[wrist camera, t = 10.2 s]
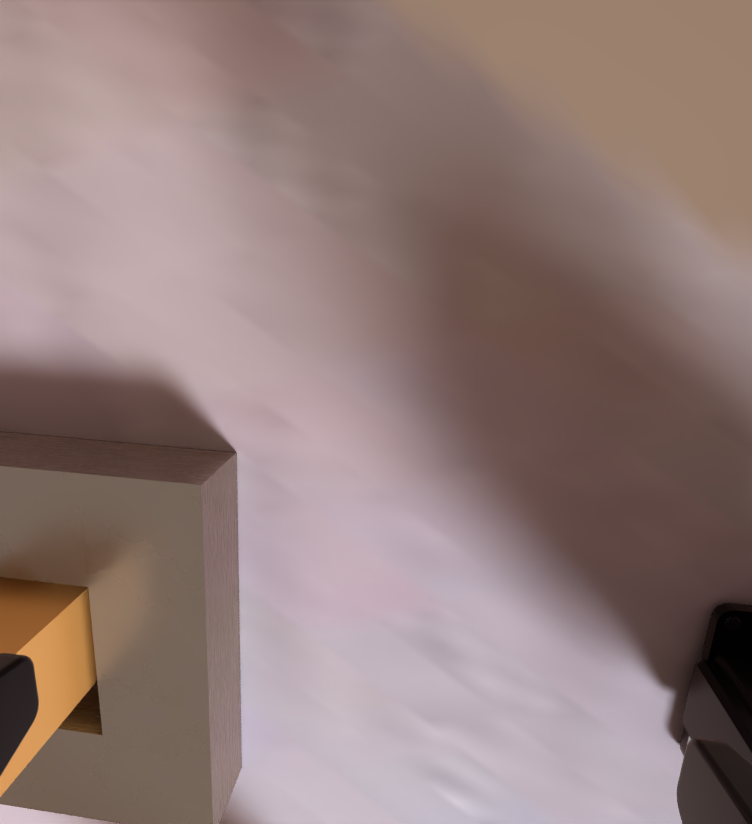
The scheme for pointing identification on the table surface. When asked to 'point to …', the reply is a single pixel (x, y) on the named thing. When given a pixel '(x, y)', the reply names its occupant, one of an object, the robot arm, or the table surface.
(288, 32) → the table surface
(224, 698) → the grey square hole board
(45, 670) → the orange rectangular block
